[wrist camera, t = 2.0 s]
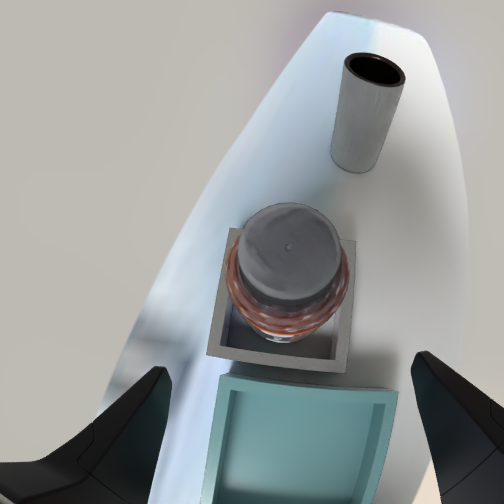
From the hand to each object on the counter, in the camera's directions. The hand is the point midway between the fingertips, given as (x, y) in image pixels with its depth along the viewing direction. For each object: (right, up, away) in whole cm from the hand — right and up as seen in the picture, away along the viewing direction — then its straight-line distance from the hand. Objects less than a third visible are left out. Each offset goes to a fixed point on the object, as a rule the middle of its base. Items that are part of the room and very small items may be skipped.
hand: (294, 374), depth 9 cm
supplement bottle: (+1, 0, +12) cm, 12 cm away
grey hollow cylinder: (+8, +13, +16) cm, 23 cm away
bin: (+2, -11, +8) cm, 13 cm away
